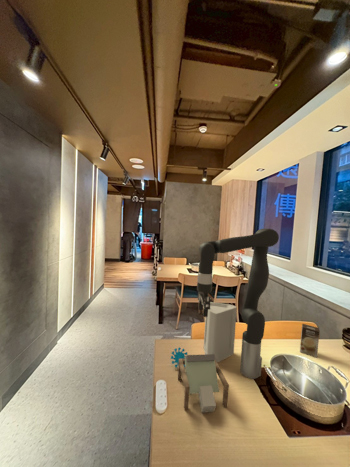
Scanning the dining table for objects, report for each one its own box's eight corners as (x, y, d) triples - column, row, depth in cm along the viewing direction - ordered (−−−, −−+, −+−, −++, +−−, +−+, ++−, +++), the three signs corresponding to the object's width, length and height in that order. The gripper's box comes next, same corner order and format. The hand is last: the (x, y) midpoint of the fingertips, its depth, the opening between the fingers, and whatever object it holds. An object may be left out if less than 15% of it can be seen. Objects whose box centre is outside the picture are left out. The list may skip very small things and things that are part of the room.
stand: (177, 377, 102) (178, 358, 101) (213, 376, 104) (214, 357, 104) (184, 410, 84) (185, 387, 83) (227, 407, 86) (228, 384, 86)
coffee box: (299, 352, 130) (301, 326, 129) (299, 347, 135) (301, 323, 135) (317, 358, 125) (319, 331, 124) (317, 352, 130) (319, 327, 130)
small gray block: (211, 385, 88) (216, 405, 81) (209, 391, 90) (213, 411, 84) (200, 386, 87) (203, 406, 81) (198, 392, 89) (201, 412, 83)
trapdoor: (184, 356, 98) (186, 354, 95) (213, 355, 100) (215, 353, 97) (187, 393, 89) (188, 393, 86) (218, 391, 91) (221, 391, 88)
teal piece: (171, 367, 106) (171, 346, 113) (168, 370, 110) (168, 349, 117) (191, 368, 109) (190, 347, 116) (188, 371, 113) (186, 350, 120)
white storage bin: (215, 342, 136) (217, 299, 135) (234, 353, 125) (237, 307, 124) (193, 351, 124) (196, 305, 123) (213, 365, 113) (216, 314, 112)
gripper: (216, 285, 100) (214, 319, 100) (207, 278, 114) (205, 307, 114) (201, 285, 99) (199, 319, 99) (194, 278, 113) (192, 307, 113)
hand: (202, 313), depth 107 cm, fingers open, 8 cm apart
